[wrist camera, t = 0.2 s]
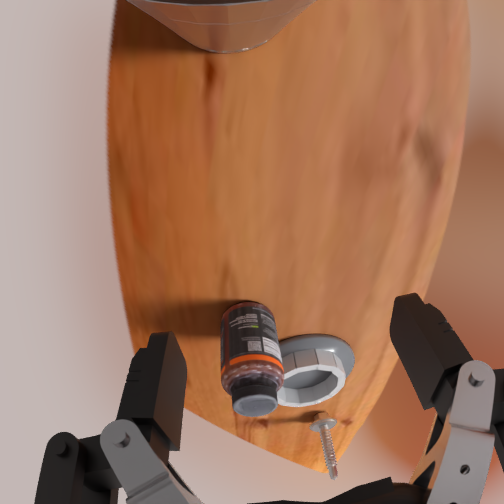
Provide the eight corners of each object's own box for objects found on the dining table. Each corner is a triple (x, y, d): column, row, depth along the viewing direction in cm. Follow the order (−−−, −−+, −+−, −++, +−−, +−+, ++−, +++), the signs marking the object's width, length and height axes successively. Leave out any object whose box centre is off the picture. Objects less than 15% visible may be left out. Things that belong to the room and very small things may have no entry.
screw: (328, 405, 47) (338, 414, 49) (303, 415, 48) (314, 423, 50) (344, 473, 36) (353, 477, 38) (314, 482, 37) (326, 485, 39)
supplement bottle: (235, 343, 36) (239, 426, 27) (210, 310, 33) (206, 400, 24) (282, 326, 35) (297, 411, 26) (261, 291, 32) (273, 382, 23)
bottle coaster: (244, 343, 36) (245, 365, 34) (358, 324, 36) (366, 344, 33) (258, 400, 44) (260, 418, 41) (348, 385, 44) (353, 402, 41)
